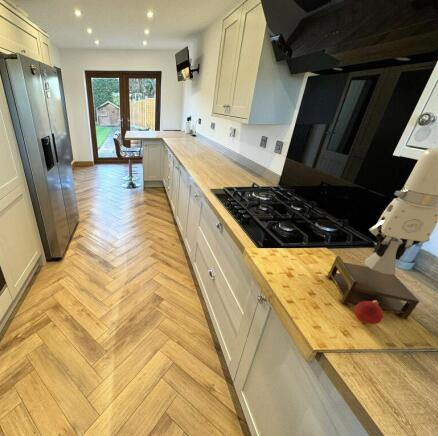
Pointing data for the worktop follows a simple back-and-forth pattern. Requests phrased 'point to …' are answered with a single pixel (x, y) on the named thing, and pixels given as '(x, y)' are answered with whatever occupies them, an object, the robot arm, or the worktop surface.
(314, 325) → the worktop surface
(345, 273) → the wooden step stool
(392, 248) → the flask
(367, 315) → the onion
